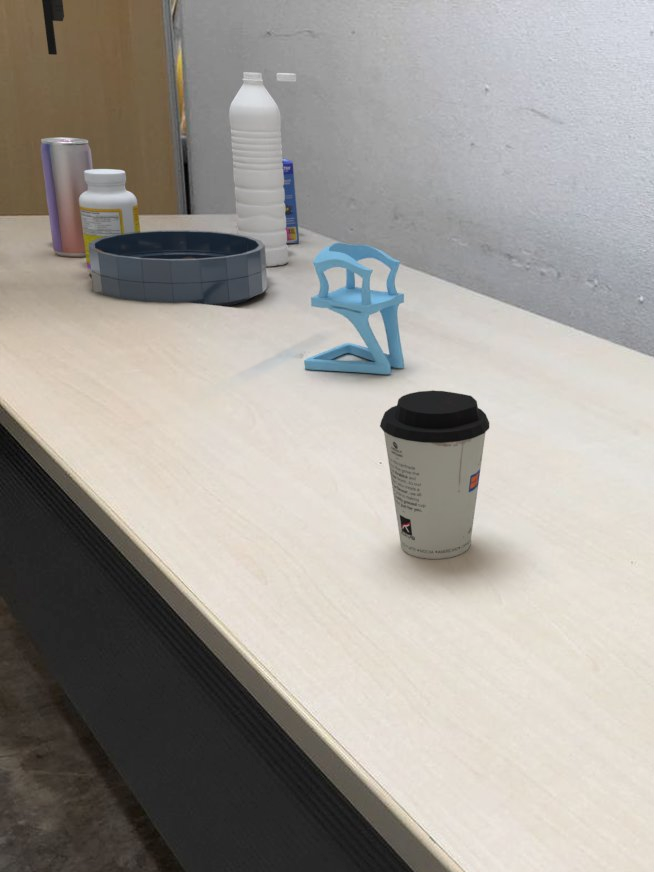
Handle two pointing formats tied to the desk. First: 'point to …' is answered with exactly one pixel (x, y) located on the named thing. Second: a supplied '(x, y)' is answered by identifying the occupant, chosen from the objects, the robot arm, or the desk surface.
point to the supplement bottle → (107, 206)
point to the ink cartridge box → (290, 202)
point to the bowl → (179, 266)
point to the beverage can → (65, 191)
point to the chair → (359, 310)
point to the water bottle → (259, 166)
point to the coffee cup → (435, 469)
